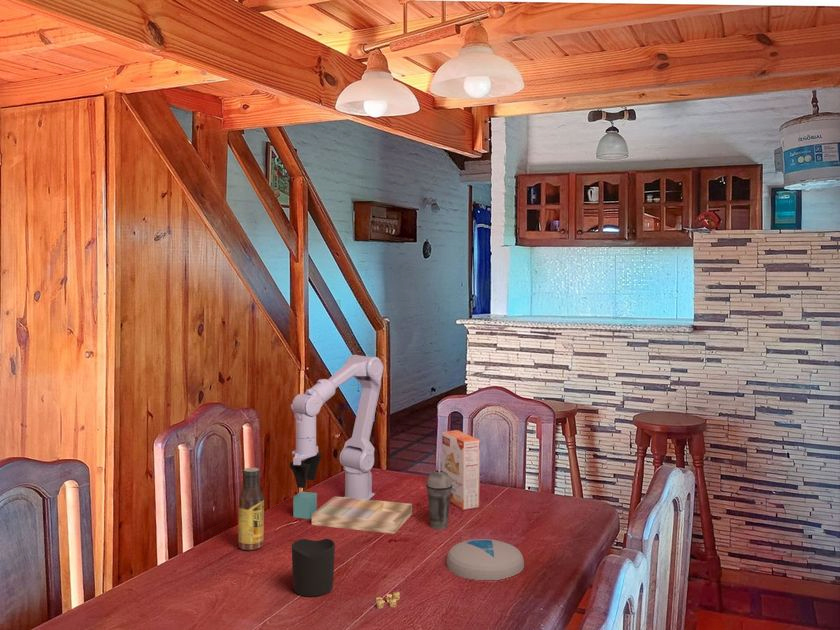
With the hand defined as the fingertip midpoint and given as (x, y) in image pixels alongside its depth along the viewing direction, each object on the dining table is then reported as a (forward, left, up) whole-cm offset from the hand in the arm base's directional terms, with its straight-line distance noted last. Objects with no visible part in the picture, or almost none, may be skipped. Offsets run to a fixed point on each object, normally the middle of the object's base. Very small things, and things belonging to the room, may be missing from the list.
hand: (306, 483), depth 209 cm
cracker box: (-25, +39, -10) cm, 47 cm away
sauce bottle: (+25, -4, -10) cm, 27 cm away
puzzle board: (-2, +16, -9) cm, 19 cm away
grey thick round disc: (+19, +55, -10) cm, 60 cm away
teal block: (-1, -1, -10) cm, 10 cm away
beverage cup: (-3, +38, -10) cm, 40 cm away
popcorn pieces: (+45, +39, -10) cm, 61 cm away
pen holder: (+43, +21, -10) cm, 49 cm away
